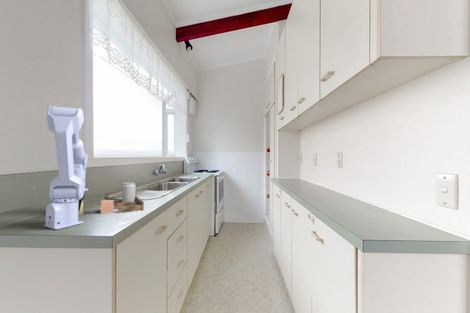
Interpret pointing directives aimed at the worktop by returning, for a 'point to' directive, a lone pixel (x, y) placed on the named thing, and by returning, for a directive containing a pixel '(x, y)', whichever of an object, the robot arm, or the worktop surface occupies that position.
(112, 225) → the worktop surface
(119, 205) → the lane organiser
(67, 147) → the robot arm
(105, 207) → the grey rod with ends
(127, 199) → the beverage can
